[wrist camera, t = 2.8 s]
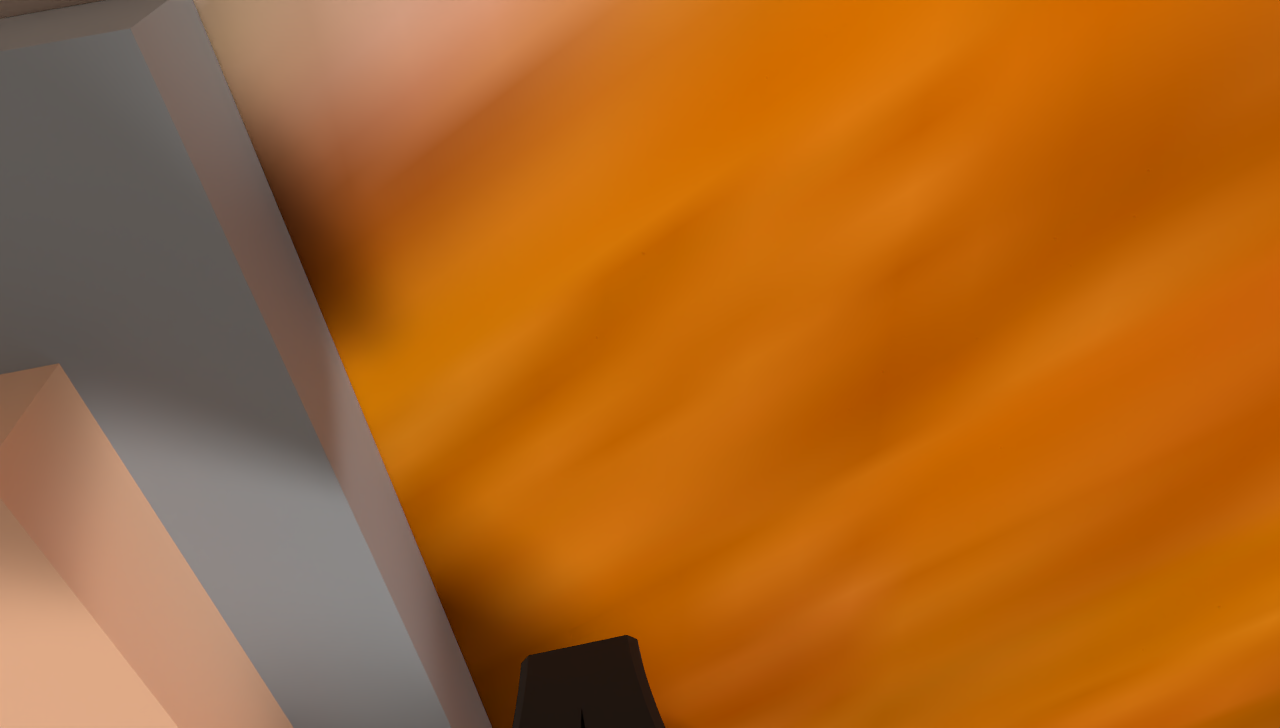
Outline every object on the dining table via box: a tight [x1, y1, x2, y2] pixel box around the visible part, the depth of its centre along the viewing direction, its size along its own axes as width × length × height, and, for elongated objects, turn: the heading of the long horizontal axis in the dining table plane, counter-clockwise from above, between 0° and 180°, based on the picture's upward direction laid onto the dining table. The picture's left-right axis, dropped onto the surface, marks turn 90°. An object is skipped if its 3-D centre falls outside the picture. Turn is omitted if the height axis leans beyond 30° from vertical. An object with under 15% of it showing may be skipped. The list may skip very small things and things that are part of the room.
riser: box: [0, 0, 492, 728], centre depth 14 cm, size 16×12×2 cm
